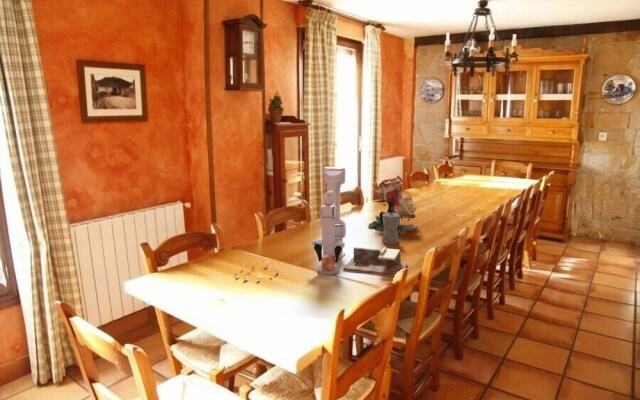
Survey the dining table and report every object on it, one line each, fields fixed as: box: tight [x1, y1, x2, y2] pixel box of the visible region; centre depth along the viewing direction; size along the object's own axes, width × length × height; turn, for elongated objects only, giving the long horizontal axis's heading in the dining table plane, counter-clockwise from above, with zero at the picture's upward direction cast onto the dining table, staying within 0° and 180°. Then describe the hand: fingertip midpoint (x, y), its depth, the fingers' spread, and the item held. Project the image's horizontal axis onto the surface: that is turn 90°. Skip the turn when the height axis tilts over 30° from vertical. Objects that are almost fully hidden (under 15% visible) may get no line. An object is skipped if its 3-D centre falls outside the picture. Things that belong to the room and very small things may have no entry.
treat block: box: [321, 254, 336, 271], centre depth 204 cm, size 4×4×6 cm
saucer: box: [316, 265, 341, 276], centre depth 204 cm, size 10×10×1 cm
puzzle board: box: [342, 247, 408, 277], centre depth 207 cm, size 26×15×7 cm, turn 70°
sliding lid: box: [378, 246, 401, 260], centre depth 204 cm, size 7×13×2 cm, turn 160°
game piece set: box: [235, 260, 280, 280], centre depth 202 cm, size 19×20×4 cm
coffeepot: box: [379, 209, 401, 245], centre depth 247 cm, size 15×9×18 cm, turn 33°
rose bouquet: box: [367, 177, 418, 235], centre depth 274 cm, size 26×29×30 cm
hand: (328, 261), depth 204 cm, fingers open, 7 cm apart
